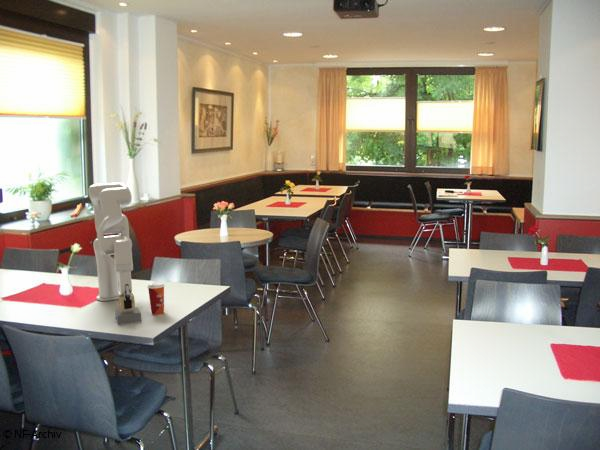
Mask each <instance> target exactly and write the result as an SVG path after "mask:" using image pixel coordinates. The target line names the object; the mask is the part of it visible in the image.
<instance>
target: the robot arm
mask: <svg viewBox="0 0 600 450" xmlns="http://www.w3.org/2000/svg"><path fill="white" fill-rule="evenodd" d="M88 197H89V199H90V201H91V203H92V204H91V205H93V211H94V225H95V226H94V227H95V231H96V238H95V239H94V240H93V244H92V246H93V251H94V254H95V255H94V256H95V260H96V269H97V270H96V271H97V281H98V282H97V283H98V295H97V296H96V297H95V298H96V300H97V301H100V302H101V301H102V302H105V301H106V302H108V301H109V302H110V301H115V300H119V297H118V295H119V294H124V309H130V308H132V301H131V294H130V293H133V287H132V286H133V284H132V272H133V270H134V263H133V262H134V261H133V251H132V250H133V249H132V248H133V242H132V239H131V238H130V228H129V227H130V226H129V220H128V217H127V215H125V214H123V213H122V212H123V211H122V208H121V206H129V205H131V203H132V199H133V198H132V193H131V191H130V189H129V187H128V186H127V184H125V183H123V182H110V183H108V182H105V183H104V182H103V183H95V184H91V185H89V187H88ZM114 234H116V235H114ZM104 235H105V236H104ZM112 255H113V256H114V258H113V257H112ZM125 295H126V296H125Z"/></svg>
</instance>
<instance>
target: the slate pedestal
mask: <svg viewBox="0 0 600 450" xmlns="http://www.w3.org/2000/svg"><path fill="white" fill-rule="evenodd" d="M114 320H115V321H116V323H117V325H123V324H131V322H132V323H137V322H138V321H139V322H142V313H141V311H140V309H139V308H138V306H135V309H132V310H125V311H121V310H120V308H119V309H114Z"/></svg>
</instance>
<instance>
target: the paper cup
mask: <svg viewBox="0 0 600 450" xmlns="http://www.w3.org/2000/svg"><path fill="white" fill-rule="evenodd" d="M147 289H148V296H149V304H150V305H149V306H150V311H151V315H154V316H159V315H162V314H163V315H164V313H165V284H164V282H162V281H153V282H149V283H148V284H147Z"/></svg>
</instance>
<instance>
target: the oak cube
mask: <svg viewBox="0 0 600 450" xmlns="http://www.w3.org/2000/svg"><path fill="white" fill-rule="evenodd" d="M130 294H131V301H132V308H130V309H124V294H119V295H118V297H119V299H118V307H119V309H120V310H121V311H125V310H132V309H135V307H136V304H135V303H136V302H135V301H136V300H135V295H134V294H133V292H131V293H130ZM125 296H126V295H125Z"/></svg>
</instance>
